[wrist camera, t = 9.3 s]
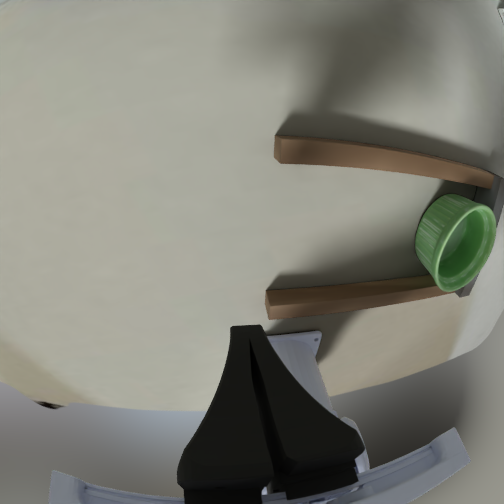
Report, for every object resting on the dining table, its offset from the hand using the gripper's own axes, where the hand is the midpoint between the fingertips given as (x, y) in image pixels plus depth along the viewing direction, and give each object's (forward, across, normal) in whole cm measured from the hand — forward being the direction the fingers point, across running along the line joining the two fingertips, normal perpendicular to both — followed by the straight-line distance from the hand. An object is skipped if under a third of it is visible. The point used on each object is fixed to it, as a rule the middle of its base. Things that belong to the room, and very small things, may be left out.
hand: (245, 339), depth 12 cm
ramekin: (+10, -20, -1) cm, 23 cm away
